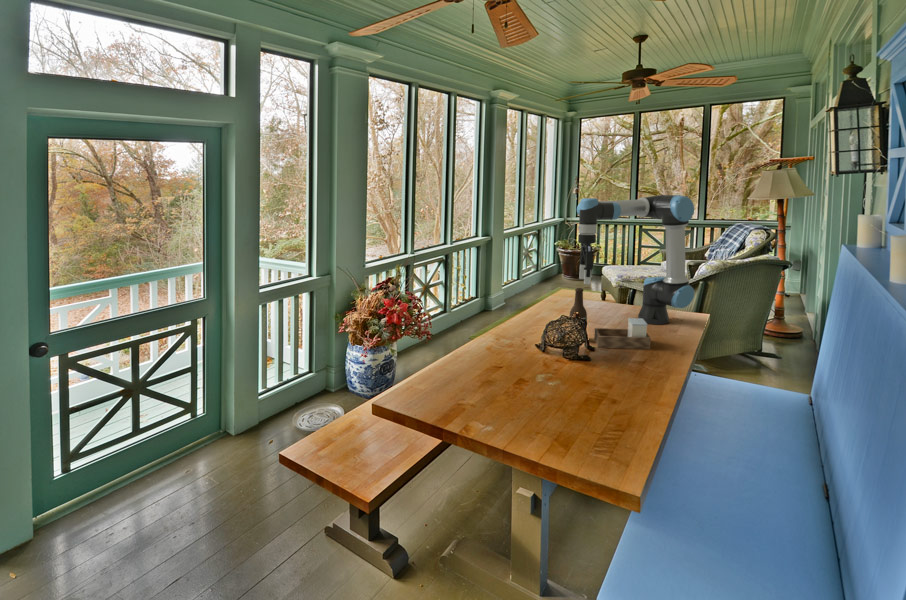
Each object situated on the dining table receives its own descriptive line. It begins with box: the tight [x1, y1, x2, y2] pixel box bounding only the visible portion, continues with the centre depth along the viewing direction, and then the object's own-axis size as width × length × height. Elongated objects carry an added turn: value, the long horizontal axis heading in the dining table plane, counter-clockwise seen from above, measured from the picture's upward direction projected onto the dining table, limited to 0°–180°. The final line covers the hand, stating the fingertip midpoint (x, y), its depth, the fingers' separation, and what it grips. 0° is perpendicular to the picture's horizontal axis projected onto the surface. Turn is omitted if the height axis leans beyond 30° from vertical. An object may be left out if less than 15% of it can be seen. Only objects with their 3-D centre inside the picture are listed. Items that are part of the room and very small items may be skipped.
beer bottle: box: [569, 287, 588, 327], centre depth 249 cm, size 8×8×24 cm
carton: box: [627, 317, 649, 337], centre depth 243 cm, size 6×10×10 cm, turn 172°
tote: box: [593, 327, 652, 350], centre depth 244 cm, size 22×14×5 cm, turn 82°
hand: (584, 281), depth 245 cm, fingers open, 13 cm apart
